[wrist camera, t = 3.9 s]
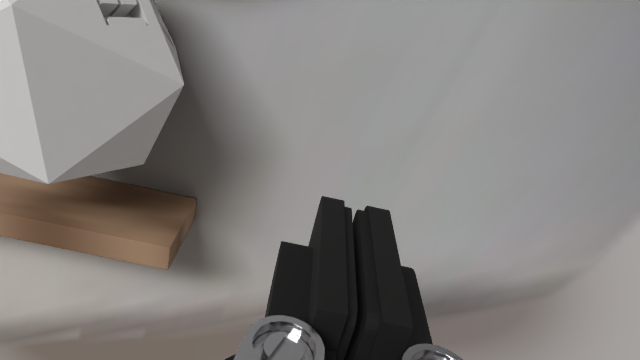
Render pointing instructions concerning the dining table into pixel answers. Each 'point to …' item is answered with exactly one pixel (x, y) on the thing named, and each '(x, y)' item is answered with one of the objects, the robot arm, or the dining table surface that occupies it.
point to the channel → (97, 218)
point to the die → (82, 86)
